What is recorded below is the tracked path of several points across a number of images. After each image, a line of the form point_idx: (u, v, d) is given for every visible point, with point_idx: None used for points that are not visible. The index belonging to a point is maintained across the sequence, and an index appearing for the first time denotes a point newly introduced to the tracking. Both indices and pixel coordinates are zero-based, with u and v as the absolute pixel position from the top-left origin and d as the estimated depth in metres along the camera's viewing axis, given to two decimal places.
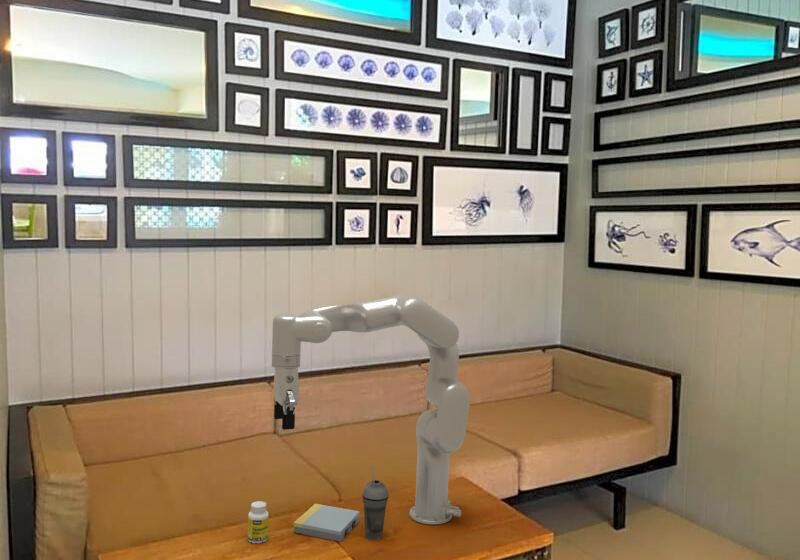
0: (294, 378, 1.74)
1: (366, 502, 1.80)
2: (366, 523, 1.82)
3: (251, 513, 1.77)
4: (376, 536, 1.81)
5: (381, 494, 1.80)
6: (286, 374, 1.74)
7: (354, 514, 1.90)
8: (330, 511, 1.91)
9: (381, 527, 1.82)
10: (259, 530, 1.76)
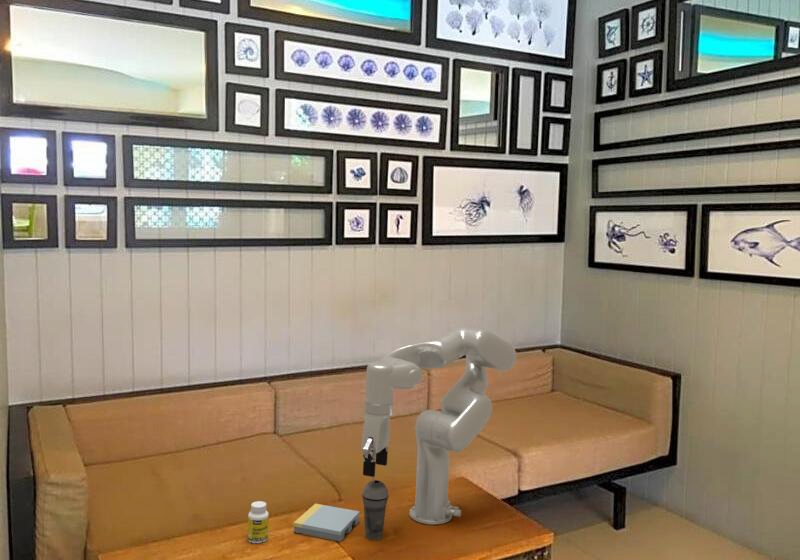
0: None
1: (366, 502, 1.80)
2: (366, 523, 1.82)
3: (251, 513, 1.77)
4: (376, 536, 1.81)
5: (381, 494, 1.80)
6: None
7: (354, 514, 1.90)
8: (330, 511, 1.91)
9: (381, 527, 1.82)
10: (259, 530, 1.76)
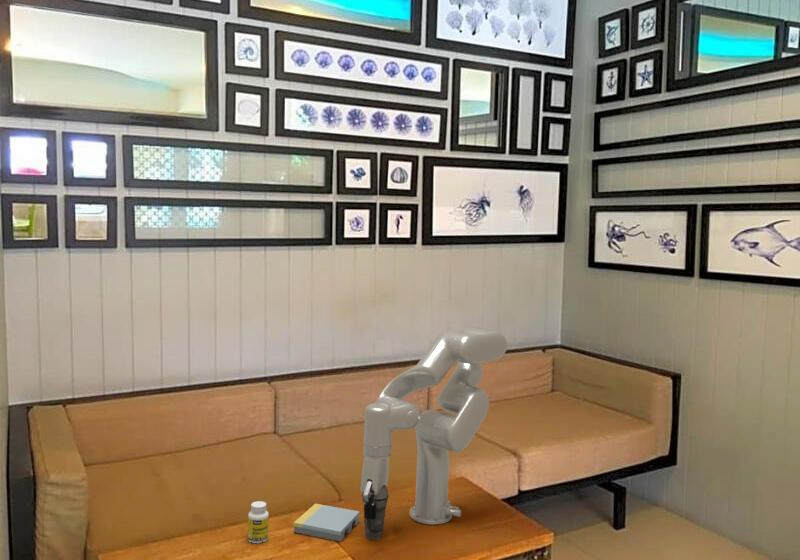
0: None
1: None
2: (366, 523, 1.82)
3: (251, 513, 1.77)
4: (376, 536, 1.81)
5: (381, 494, 1.80)
6: None
7: (354, 514, 1.90)
8: (330, 511, 1.91)
9: (381, 527, 1.82)
10: (259, 530, 1.76)
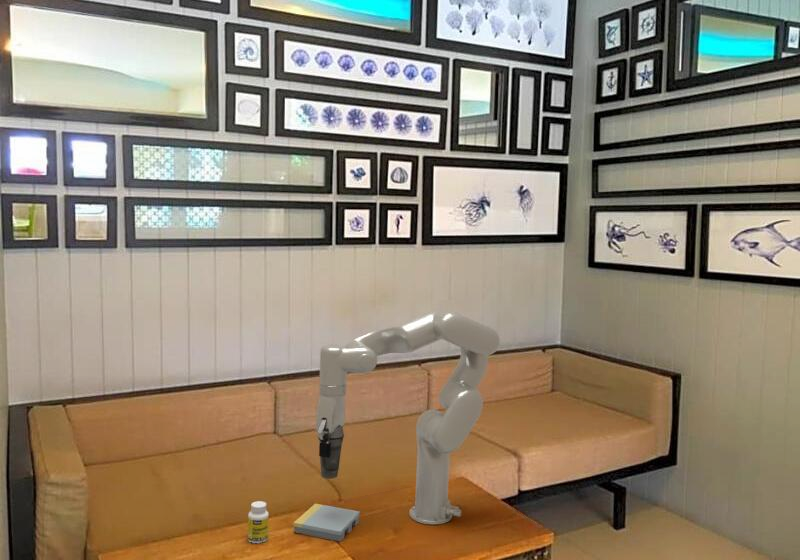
0: None
1: None
2: (322, 462, 1.85)
3: (251, 513, 1.77)
4: (331, 475, 1.85)
5: (336, 433, 1.83)
6: None
7: (354, 514, 1.90)
8: (330, 511, 1.91)
9: (336, 466, 1.85)
10: (259, 530, 1.76)
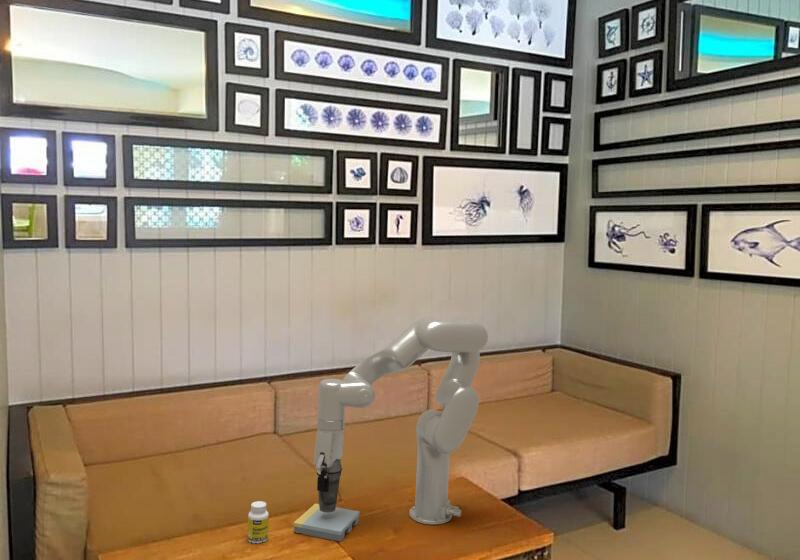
0: None
1: None
2: (320, 496, 1.86)
3: (251, 513, 1.77)
4: (329, 509, 1.85)
5: (334, 467, 1.84)
6: None
7: (354, 514, 1.90)
8: None
9: (334, 500, 1.86)
10: (259, 530, 1.76)
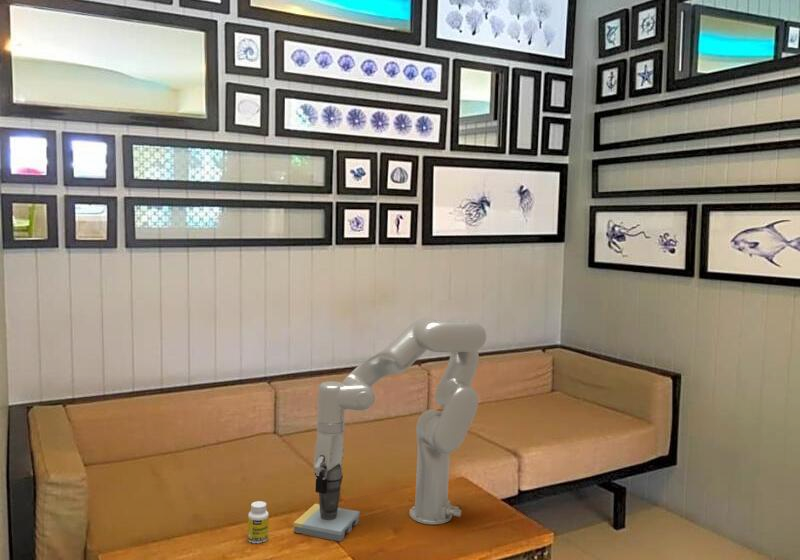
0: None
1: None
2: (321, 504, 1.86)
3: (251, 513, 1.77)
4: (330, 516, 1.86)
5: (334, 475, 1.84)
6: None
7: (354, 514, 1.90)
8: None
9: (335, 507, 1.86)
10: (259, 530, 1.76)
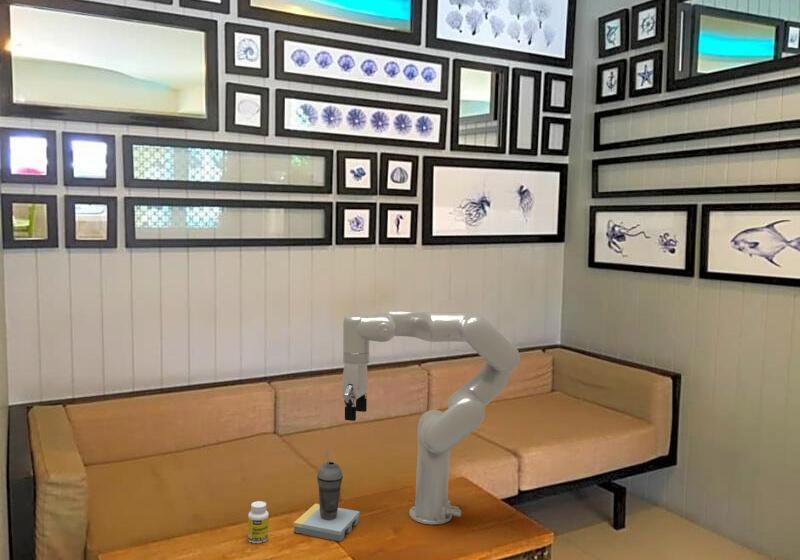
0: None
1: (320, 483, 1.85)
2: (321, 504, 1.86)
3: (251, 513, 1.77)
4: (330, 516, 1.86)
5: (334, 475, 1.84)
6: None
7: (354, 514, 1.90)
8: None
9: (335, 507, 1.86)
10: (259, 530, 1.76)
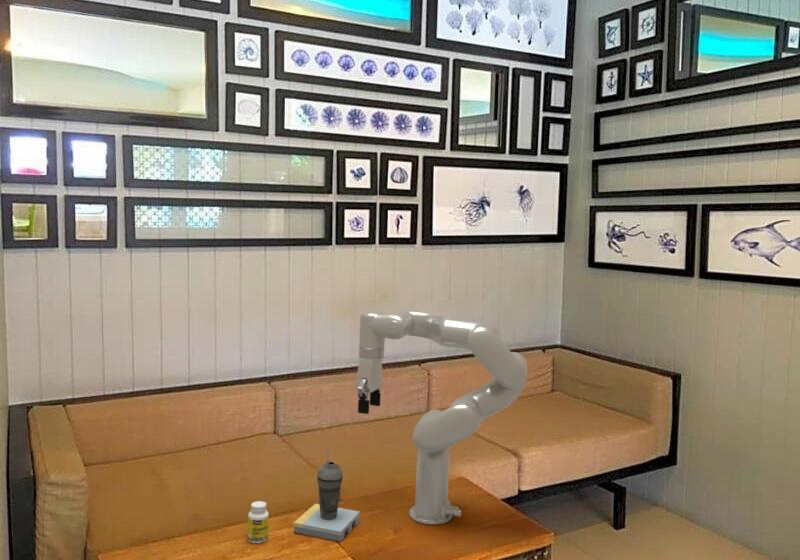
0: None
1: (320, 483, 1.85)
2: (321, 504, 1.86)
3: (251, 513, 1.77)
4: (330, 516, 1.86)
5: (334, 475, 1.84)
6: None
7: (354, 514, 1.90)
8: None
9: (335, 507, 1.86)
10: (259, 530, 1.76)
